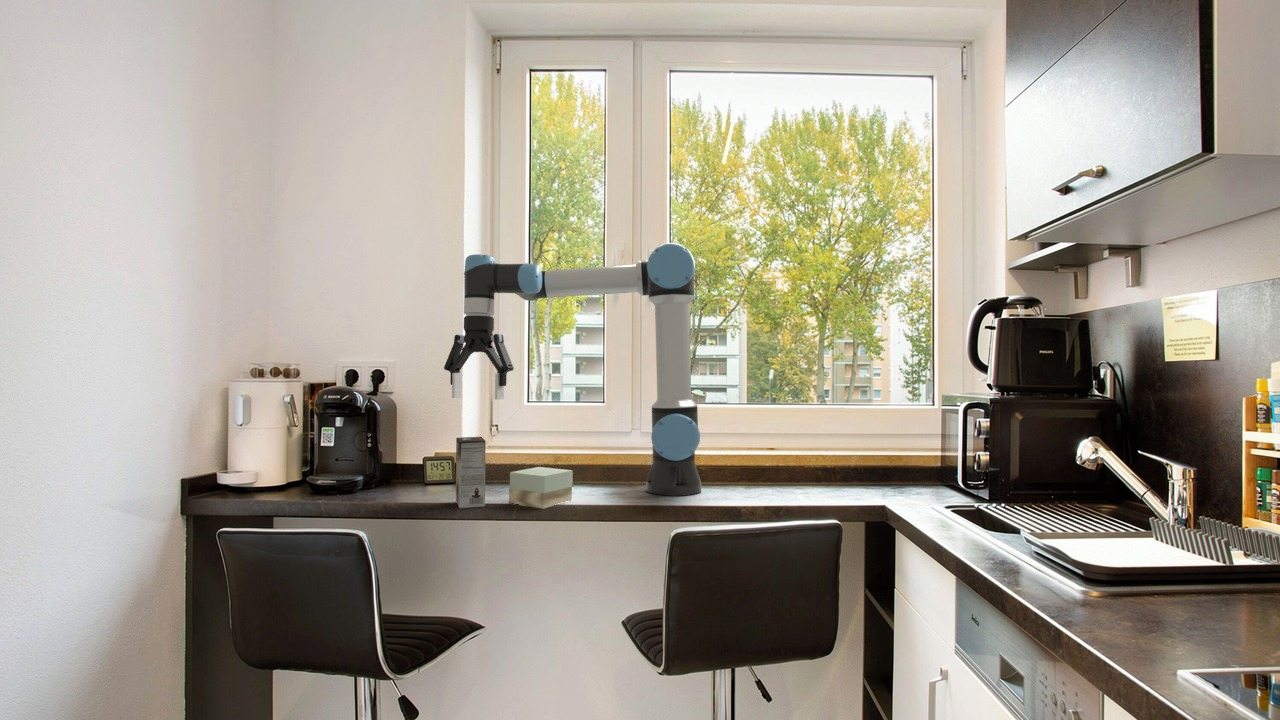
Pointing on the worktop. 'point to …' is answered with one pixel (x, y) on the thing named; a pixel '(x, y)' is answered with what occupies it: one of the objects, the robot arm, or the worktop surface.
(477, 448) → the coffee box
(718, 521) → the worktop surface
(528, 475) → the slab top
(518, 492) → the slab bottom
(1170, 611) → the worktop surface
